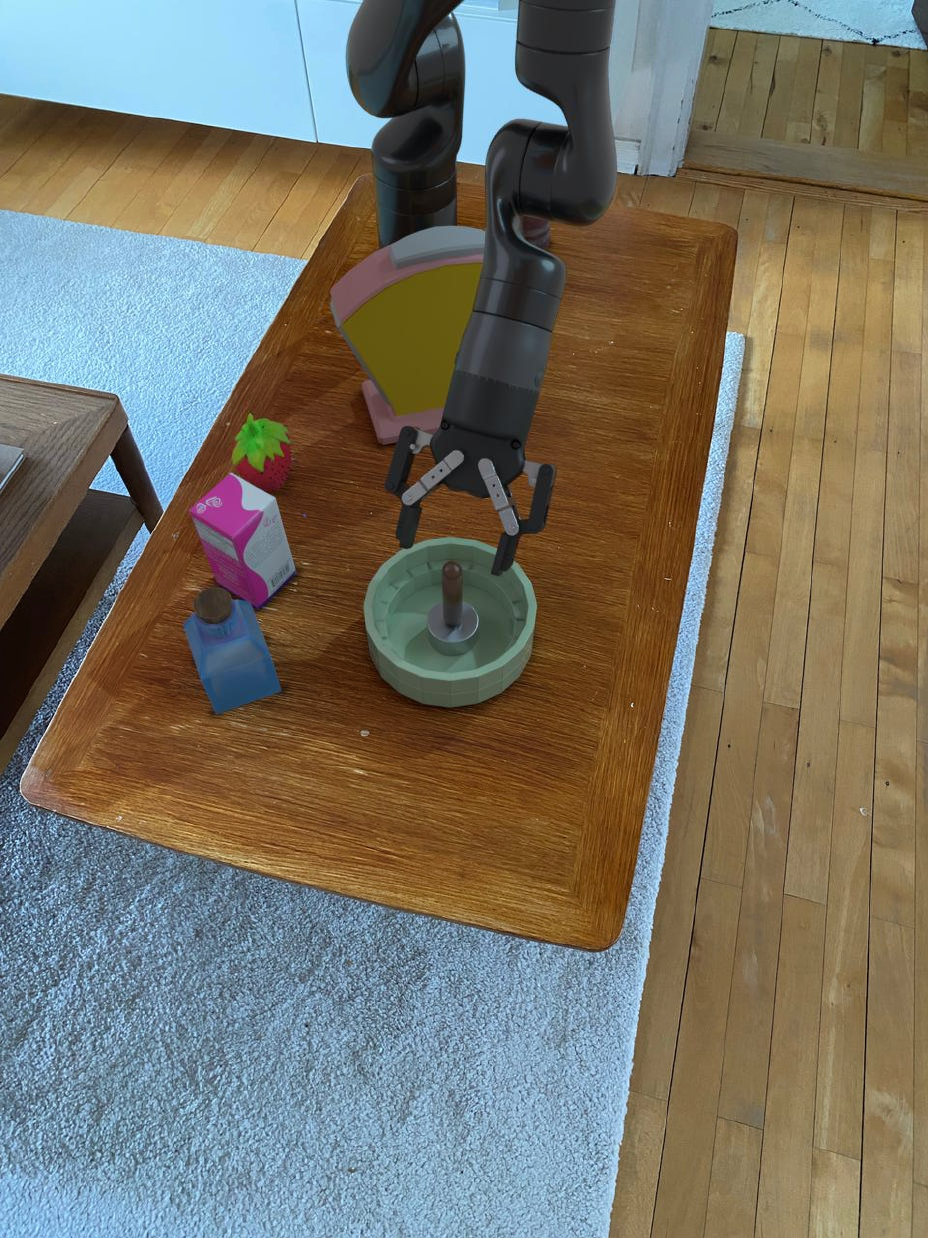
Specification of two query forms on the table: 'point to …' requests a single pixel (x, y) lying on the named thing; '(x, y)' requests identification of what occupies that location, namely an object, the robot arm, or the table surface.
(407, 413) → the pink and yellow fan
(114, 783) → the table surface
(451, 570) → the peg on round base
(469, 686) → the bowl
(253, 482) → the strawberry
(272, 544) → the supplement box
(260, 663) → the perfume bottle
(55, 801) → the table surface
